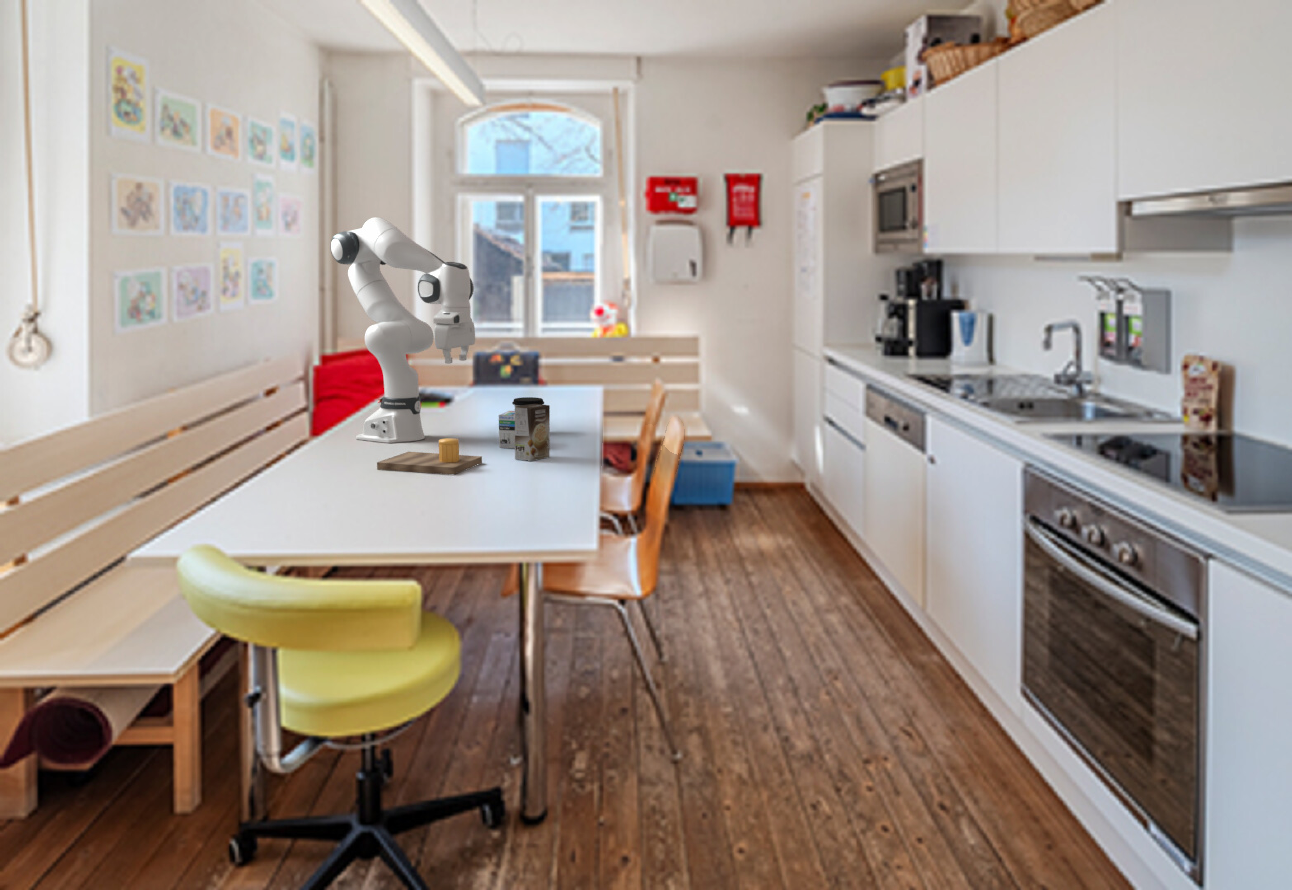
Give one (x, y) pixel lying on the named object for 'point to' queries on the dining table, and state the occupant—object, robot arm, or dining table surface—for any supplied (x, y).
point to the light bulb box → (507, 430)
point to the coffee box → (532, 432)
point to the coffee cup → (527, 401)
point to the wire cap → (449, 450)
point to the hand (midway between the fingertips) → (455, 361)
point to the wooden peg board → (427, 463)
